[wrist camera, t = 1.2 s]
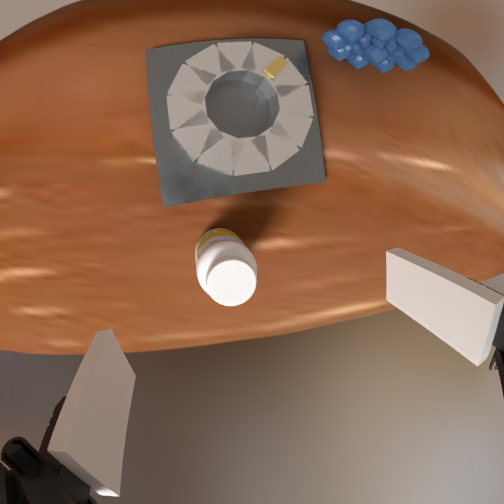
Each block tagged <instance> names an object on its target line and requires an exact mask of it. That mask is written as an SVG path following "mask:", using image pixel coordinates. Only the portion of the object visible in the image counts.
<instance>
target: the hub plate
mask: <svg viewBox="0 0 504 504" xmlns="http://www.w3.org/2000/svg"><path fill="white" fill-rule="evenodd" d="M146 62H147V79H148V92H149V104H150V114H151V124H152V133H153V141H154V149H155V156H156V163H157V170H158V176H159V183H160V189H161V195H162V201H163V206H164V207H168V206H173V205H178V204H183V203H188V202H194V201H199V200H205V199H211V198H217V197H223V196H229V195H235V194H241V193H248V192H255V191H262V190H269V189H276V188H284V187H292V186H300V185H309V184H317V183H326V180H325V170H324V161H323V152H322V144H321V137H320V129H319V122H318V115H317V109H316V103H315V97H314V91H313V85H312V80H311V74H310V69H309V64H308V59H307V54H306V49H305V45H304V41H303V40H290V39H225V40H211V41H201V42H192V43H184V44H177V45H171V46H165V47H160V48H154V49H149V50H146Z"/></svg>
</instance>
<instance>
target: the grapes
mask: <svg viewBox="0 0 504 504" xmlns="http://www.w3.org/2000/svg"><path fill="white" fill-rule="evenodd" d="M322 41H323V43H324V44H325V45H326V46H327V52H328V54H329V55H330V56H331V57H333V58H334V59H336V60H338V61H341V60H344V59H346V60H347V62H348V63H349V64H350V65H352V66H353V67H355V68H357V69H360V68H363V67H365V66H367V65H369V63H370V62H371V64H372V65H373V66H374V67H375V68H376V69H377V70H379V71H380V72H382V73H385V72H388V71H390V70H392V69H394V67H395V66H396V65H397V66H398V67H399V68H401V69H402V70H404V71H409V70H412V69H414V68H415V67H416V66H417V65H418V63H421V62H423V61H425V60H427V59H428V58H429V56H430V54H429V50H428V49H427V48H426V47H425V46H424V45H422V43H423V41H422V38H421V36H420V35H419V34H418V33H416V32H415V31H413V30H411V29H408V28H402V29H399V30H397V29H396V27H395V26H394V25H393V24H392V23H391V22H389V21H387V20H385V19H382V18H377V19H373V20H371V21H369V22H366V23H365V24H362V23H360V22H358V21H356V20H353V19H348V20H344V21H342V22H341V23H339V24H338V26H337V28H336V29H332V30H329V31H327V32H325V33H324V34H323V36H322Z"/></svg>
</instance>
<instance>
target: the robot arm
mask: <svg viewBox="0 0 504 504" xmlns="http://www.w3.org/2000/svg"><path fill="white" fill-rule="evenodd" d="M386 263H387V301H388V302H390V303H391V304H393V305H394V306H396V307H397V308H398V309H400V310H401V311H403V312H404V313H406V314H407V315H408V316H410V317H411V318H413V319H414V320H415V321H417V322H418V323H420V324H421V325H423V326H424V327H425V328H427V329H428V330H429V331H431V332H432V333H434V334H435V335H436V336H438V337H439V338H440V339H442V340H443V341H445V342H446V343H447V344H449V345H450V346H451V347H453V348H454V349H456V350H457V351H458V352H459V353H461V354H462V355H463V356H465V357H466V358H467V359H469V360H470V361H471V362H473V363H474V364H476V365H477V366H478V365H480V364H481V363H482V362H483V361H484V360H485V359H486V358H487V357H488V355H489V352H490V349H491V346H492V345H494V346H495V347H496V350H495V352H494V355H493V358H492V361H491V363H490V366H489V370H492V367H493V365H494V362H496V366H495V369H498V371H499V376H500V380H501V385H502V390H503V396H504V295H503V294H501V293H499V292H497V291H495V290H493V289H491V288H489V287H487V286H484V285H483V284H481V283H477V282H476V281H474V280H472V279H470V278H467V277H464V276H462V275H460V274H458V273H455V272H453V271H451V270H449V269H447V268H444V267H442V266H440V265H438V264H435V263H433V262H431V261H429V260H426V259H424V258H422V257H419V256H417V255H415V254H412V253H410V252H407V251H405V250H403V249H400V248H398V247H397V248H394V249H391V250H388V251H386ZM135 377H136V376H135V374H134V372H133V370H132V368H131V367H130V365H129V363H128V361H127V359H126V357H125V356H124V354H123V352H122V350H121V348H120V346H119V344H118V342H117V340H116V338H115V336H114V334H113V332H112V330H111V329H107V330H102V331H97V332H96V334H95V336H94V338H93V340H92V342H91V344H90V346H89V348H88V350H87V352H86V354H85V357H84V359H83V361H82V363H81V365H80V367H79V369H78V372H77V374H76V376H75V378H74V381H73V383H72V385H71V388H70V390H69V392H68V395H67V396H66V397H63V398H62V399H61V401H60V402H59V403H58V404H57V405H56V407H55V410H54V412H53V415H52V418H51V419H50V422H49V426H48V427H47V430H46V433H45V435H44V438H43V441H42V444H41V447H40V449H39V452H38V451H37V450H36V449H35V448H33V446H32V445H30V443H29V442H28V441H27V440H26V439H24V438H22V437H14V438H12V439H10V440H9V441H8V442H7V443H6V444H5V445H4V447H3V449H2V452H1V460H2V461H3V462H4V463H5V464H6V465H7V466H8V467H9V468H10V469H12V470H8V469H7V468H6V467H5V466H4V465H3V464H2V463H0V504H97V502H96V501H95V499H94V498H93V497H92V496H90V495H89V493H90V488H92V489H93V490H94V491H96V492H97V493H98V494H100V495H107V496H120V482H121V470H122V461H123V451H124V444H125V436H126V428H127V422H128V416H129V410H130V404H131V398H132V392H133V387H134V382H135Z"/></svg>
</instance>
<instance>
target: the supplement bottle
mask: <svg viewBox="0 0 504 504" xmlns="http://www.w3.org/2000/svg"><path fill="white" fill-rule="evenodd" d="M195 259H196V270H197V277H198V280H199V283H200V285H201V287H202V288H203V289H204V290H205V291H206V292H207V293H208V294H209V295H210V296H211V297H212V298H213V299H214V300H215V301H216V302H218V303H219V304H222V305H225V306H235V305H239V304H242V303H243V302H245V301H247V300H248V299H249V298H250V297H251V296H252V294H253V292H254V290H255V288H256V275H257V264H256V260H255V258H254V256H253V254H252V253H251V251H250V250H249V249H248V248H247V246H246V245H245V244H244V243H243V241H242V240H241V239H240V238H239V237H238V236H237V235H236V234H235V233H234V232H232V231H230V230H228V229H224V228H216V229H212V230H210V231H208V232H206V233H205V234H203V235H202V236H201V238H200V239H199V240H198V242H197V245H196V249H195Z"/></svg>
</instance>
